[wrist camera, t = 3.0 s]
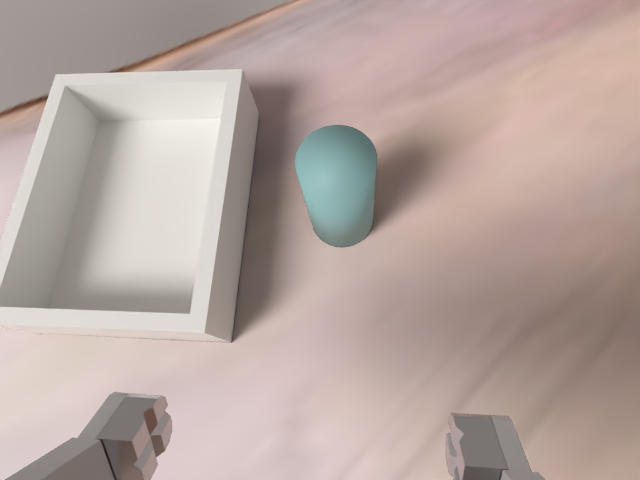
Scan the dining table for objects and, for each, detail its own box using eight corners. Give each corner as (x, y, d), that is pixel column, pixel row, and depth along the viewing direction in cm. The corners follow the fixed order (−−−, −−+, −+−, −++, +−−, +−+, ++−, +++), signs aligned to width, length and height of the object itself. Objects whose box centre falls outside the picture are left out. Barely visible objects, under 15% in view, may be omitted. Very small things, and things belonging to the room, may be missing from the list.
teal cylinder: (373, 190, 30) (377, 124, 23) (373, 247, 29) (376, 197, 21) (313, 190, 31) (297, 125, 23) (310, 246, 29) (291, 196, 22)
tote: (259, 114, 33) (242, 69, 29) (231, 342, 27) (204, 332, 23) (97, 116, 35) (55, 74, 30) (36, 333, 29) (-27, 322, 24)
